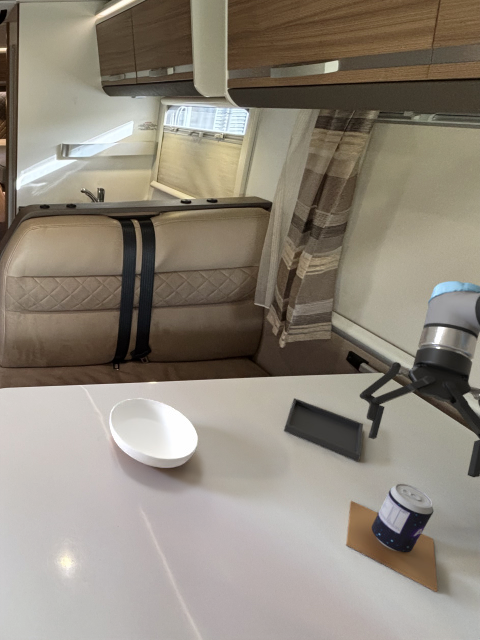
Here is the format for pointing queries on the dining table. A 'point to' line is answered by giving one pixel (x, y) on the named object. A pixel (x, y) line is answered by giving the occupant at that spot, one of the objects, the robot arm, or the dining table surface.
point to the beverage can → (402, 517)
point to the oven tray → (325, 429)
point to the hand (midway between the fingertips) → (420, 455)
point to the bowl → (153, 432)
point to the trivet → (407, 563)
